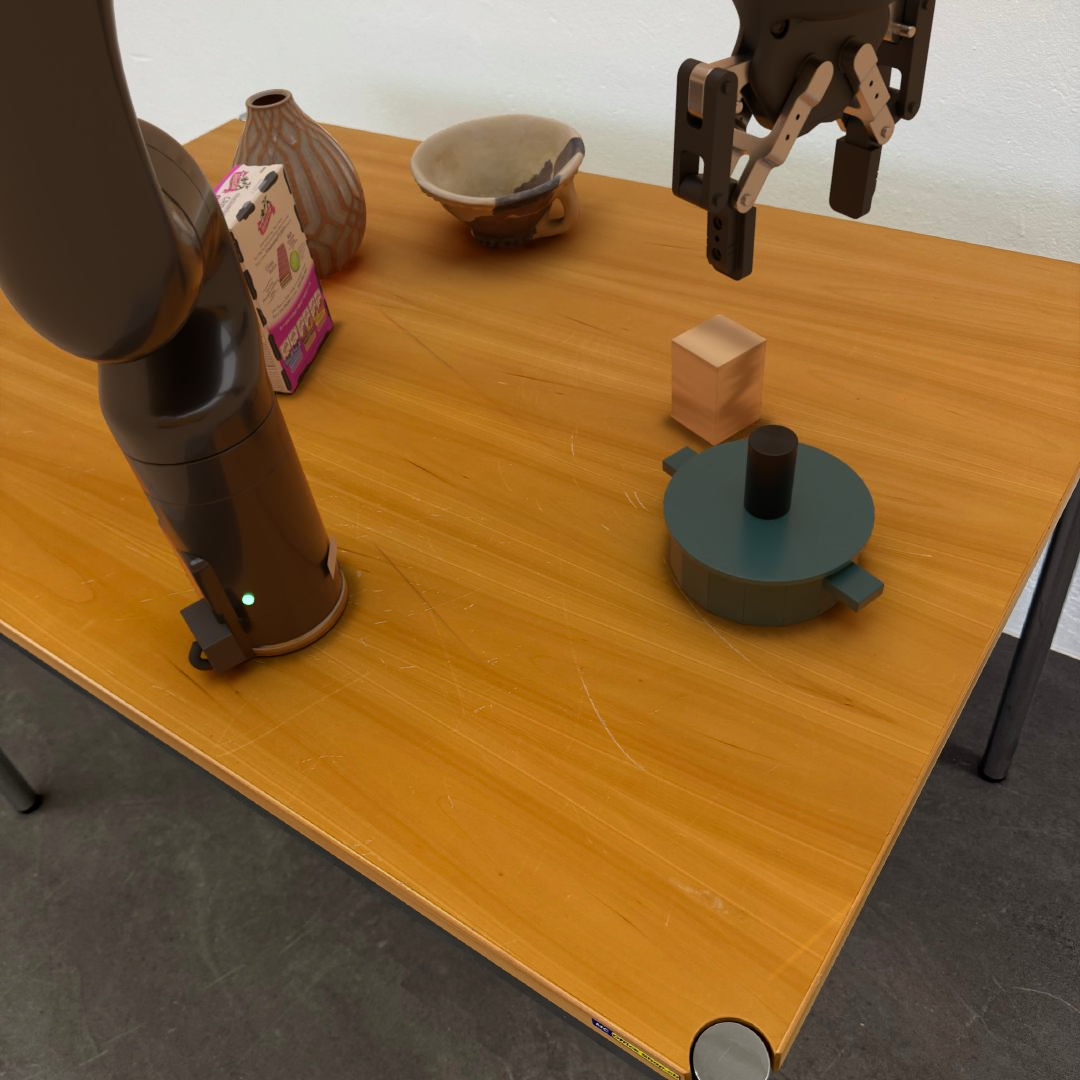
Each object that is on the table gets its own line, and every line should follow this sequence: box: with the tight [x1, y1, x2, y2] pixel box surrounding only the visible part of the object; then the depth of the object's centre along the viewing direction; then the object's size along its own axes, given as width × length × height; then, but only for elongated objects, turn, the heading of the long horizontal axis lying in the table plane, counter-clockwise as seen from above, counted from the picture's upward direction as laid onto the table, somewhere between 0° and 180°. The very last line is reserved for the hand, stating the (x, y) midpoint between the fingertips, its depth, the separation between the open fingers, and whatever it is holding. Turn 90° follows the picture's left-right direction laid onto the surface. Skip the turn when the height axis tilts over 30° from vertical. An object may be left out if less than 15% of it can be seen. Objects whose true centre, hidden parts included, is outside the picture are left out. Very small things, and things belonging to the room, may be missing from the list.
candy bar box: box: [213, 164, 335, 394], centre depth 83 cm, size 11×5×16 cm, turn 168°
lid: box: [662, 423, 876, 586], centre depth 60 cm, size 14×14×7 cm
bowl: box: [409, 113, 586, 249], centre depth 98 cm, size 18×18×10 cm
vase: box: [230, 88, 368, 281], centre depth 95 cm, size 13×13×18 cm
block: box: [670, 313, 768, 447], centre depth 74 cm, size 5×5×8 cm
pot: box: [662, 445, 885, 627], centre depth 64 cm, size 12×18×5 cm
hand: (791, 241), depth 49 cm, fingers open, 8 cm apart
